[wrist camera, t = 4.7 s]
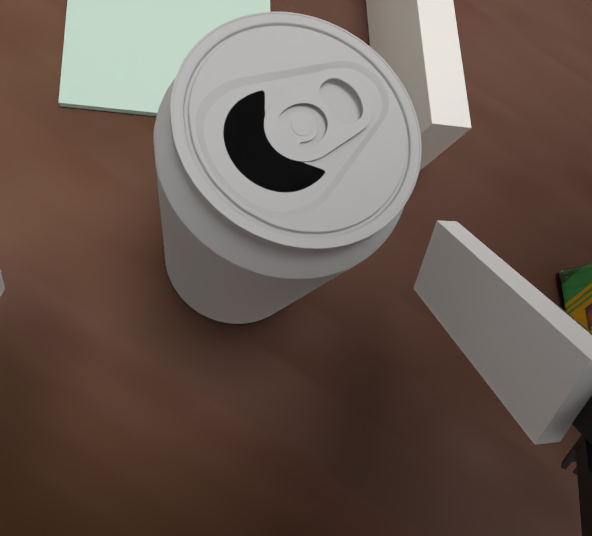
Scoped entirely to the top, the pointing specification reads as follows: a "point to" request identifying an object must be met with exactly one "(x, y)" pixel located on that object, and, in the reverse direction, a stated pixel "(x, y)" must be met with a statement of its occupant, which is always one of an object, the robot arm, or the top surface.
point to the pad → (135, 48)
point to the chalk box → (578, 293)
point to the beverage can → (279, 162)
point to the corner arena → (424, 65)
